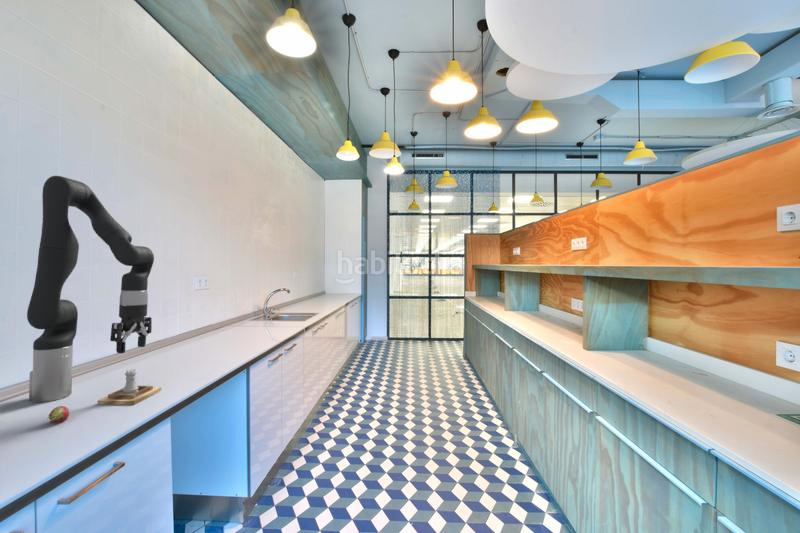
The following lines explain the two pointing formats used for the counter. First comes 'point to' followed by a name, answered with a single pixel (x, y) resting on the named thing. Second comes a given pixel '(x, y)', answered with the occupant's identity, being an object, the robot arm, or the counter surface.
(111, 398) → the display stand
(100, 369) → the counter surface
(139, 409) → the counter surface
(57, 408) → the fruit
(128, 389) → the rook chess piece
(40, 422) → the counter surface
